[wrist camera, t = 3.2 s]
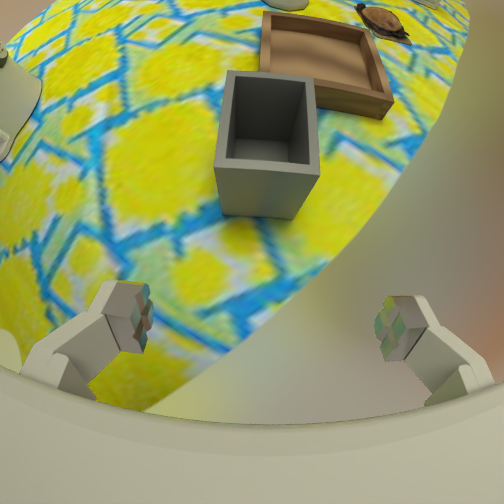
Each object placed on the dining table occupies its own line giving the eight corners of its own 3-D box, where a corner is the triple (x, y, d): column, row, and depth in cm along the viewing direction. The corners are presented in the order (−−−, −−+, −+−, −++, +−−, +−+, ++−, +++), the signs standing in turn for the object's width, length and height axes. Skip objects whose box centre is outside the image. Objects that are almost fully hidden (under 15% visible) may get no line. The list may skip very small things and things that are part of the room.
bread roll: (413, 49, 31) (422, 35, 28) (371, 39, 31) (379, 23, 27) (388, 15, 33) (395, 2, 30) (348, 6, 33) (354, -9, 29)
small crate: (292, 219, 24) (320, 175, 16) (222, 215, 24) (213, 167, 15) (293, 141, 26) (313, 77, 17) (230, 136, 26) (227, 70, 17)
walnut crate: (381, 119, 27) (394, 102, 24) (256, 100, 27) (258, 78, 23) (361, 46, 29) (369, 29, 26) (261, 30, 29) (263, 10, 26)
